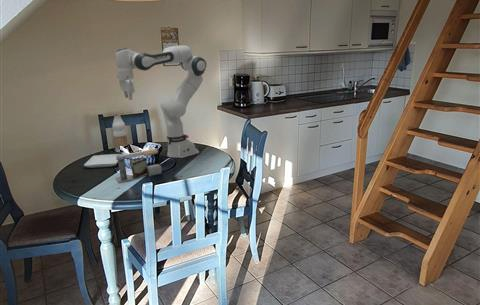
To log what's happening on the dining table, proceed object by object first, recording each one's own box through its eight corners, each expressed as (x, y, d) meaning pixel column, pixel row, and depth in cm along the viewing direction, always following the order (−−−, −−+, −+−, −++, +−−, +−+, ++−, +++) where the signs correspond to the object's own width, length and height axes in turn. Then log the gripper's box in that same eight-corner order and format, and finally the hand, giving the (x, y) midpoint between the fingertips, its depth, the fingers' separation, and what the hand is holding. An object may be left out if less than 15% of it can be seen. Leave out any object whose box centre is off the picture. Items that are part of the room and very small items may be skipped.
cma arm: (117, 161, 212) (117, 157, 211) (115, 158, 217) (115, 155, 216) (159, 153, 223) (158, 149, 223) (155, 150, 228) (155, 147, 228)
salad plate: (93, 159, 260) (93, 155, 259) (124, 157, 261) (123, 153, 260) (83, 170, 239) (82, 165, 238) (117, 168, 241) (116, 163, 240)
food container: (141, 171, 232) (139, 156, 229) (148, 172, 229) (147, 157, 226) (126, 177, 222) (124, 162, 219) (134, 179, 219) (131, 163, 216)
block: (159, 171, 231) (158, 163, 229) (161, 173, 227) (161, 165, 225) (146, 174, 227) (145, 166, 226) (149, 176, 223) (148, 168, 221)
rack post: (129, 176, 224) (126, 156, 221) (132, 180, 218) (129, 159, 214) (115, 179, 221) (112, 159, 217) (118, 183, 214) (115, 162, 210)
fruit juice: (115, 153, 270) (110, 115, 262) (115, 149, 279) (109, 113, 270) (129, 151, 273) (124, 114, 265) (128, 148, 282) (123, 112, 273)
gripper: (135, 76, 218) (138, 100, 222) (126, 74, 235) (129, 96, 239) (124, 77, 215) (127, 101, 219) (116, 75, 232) (119, 97, 236)
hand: (128, 98), depth 229 cm, fingers open, 8 cm apart
